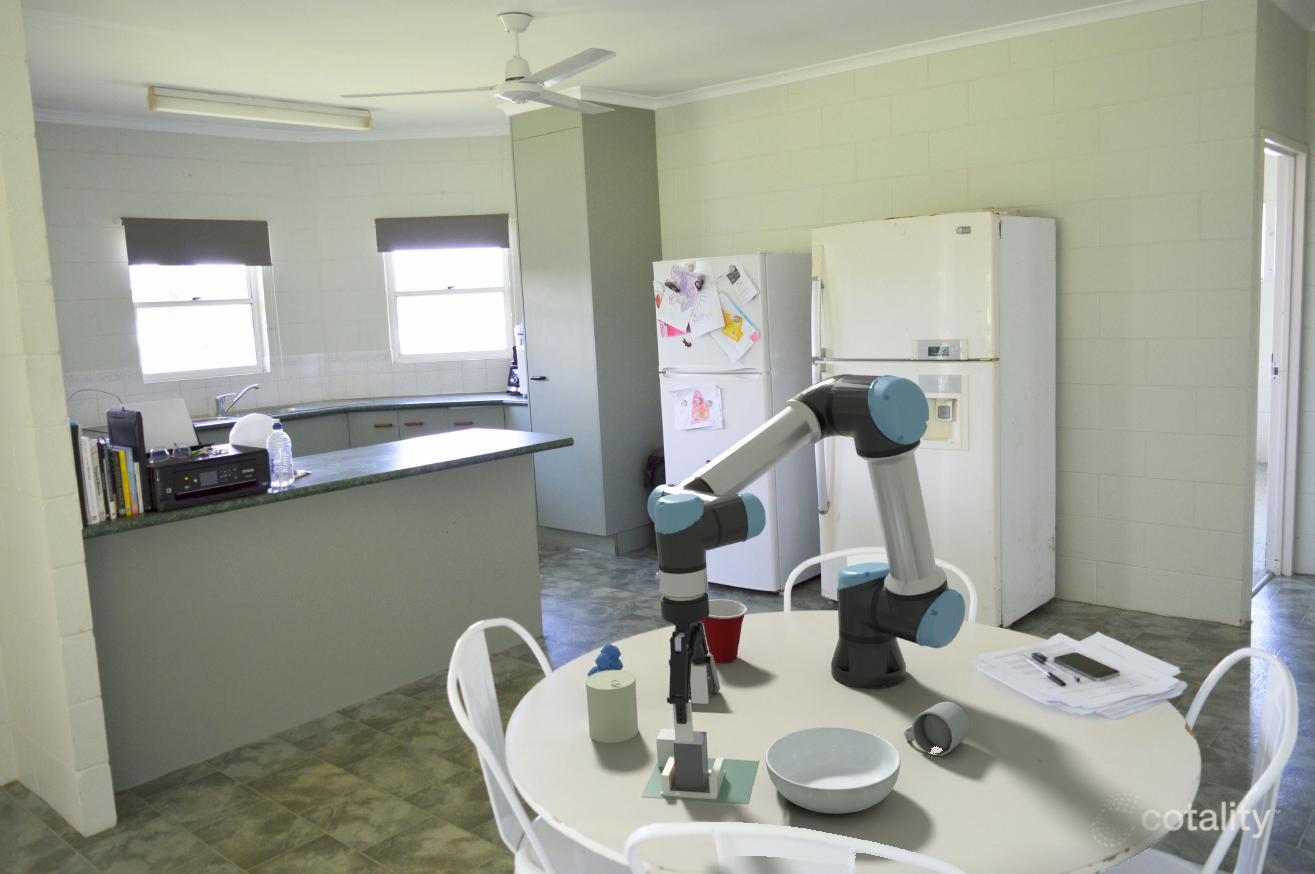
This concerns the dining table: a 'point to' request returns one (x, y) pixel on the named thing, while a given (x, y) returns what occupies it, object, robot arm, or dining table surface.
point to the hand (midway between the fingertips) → (692, 720)
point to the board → (724, 783)
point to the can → (612, 706)
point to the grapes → (607, 660)
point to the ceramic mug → (939, 727)
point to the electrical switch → (710, 676)
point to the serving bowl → (833, 768)
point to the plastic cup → (724, 629)
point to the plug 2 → (691, 763)
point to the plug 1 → (665, 746)
